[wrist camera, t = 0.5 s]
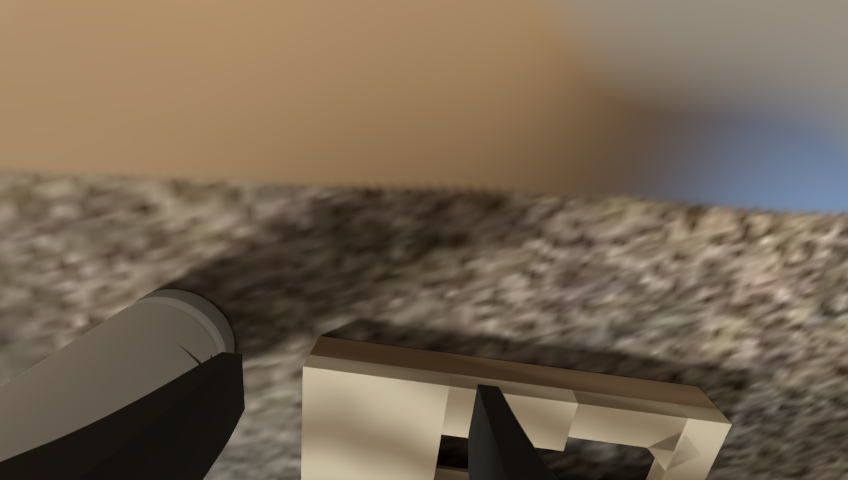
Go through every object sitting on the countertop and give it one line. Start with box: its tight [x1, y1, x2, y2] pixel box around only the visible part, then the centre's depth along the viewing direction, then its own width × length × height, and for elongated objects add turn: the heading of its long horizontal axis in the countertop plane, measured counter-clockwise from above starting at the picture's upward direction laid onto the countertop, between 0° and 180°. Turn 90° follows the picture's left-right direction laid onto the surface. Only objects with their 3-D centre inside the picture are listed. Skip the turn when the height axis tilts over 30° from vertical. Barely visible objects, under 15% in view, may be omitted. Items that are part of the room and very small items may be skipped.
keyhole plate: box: [301, 336, 732, 480], centre depth 23 cm, size 10×22×3 cm, turn 83°
